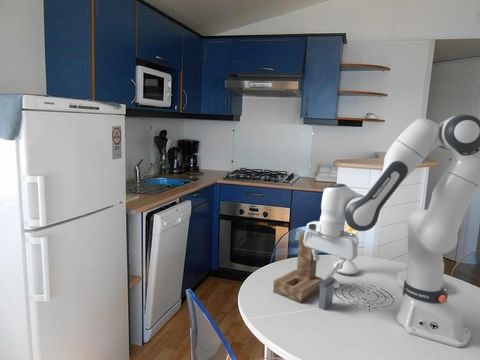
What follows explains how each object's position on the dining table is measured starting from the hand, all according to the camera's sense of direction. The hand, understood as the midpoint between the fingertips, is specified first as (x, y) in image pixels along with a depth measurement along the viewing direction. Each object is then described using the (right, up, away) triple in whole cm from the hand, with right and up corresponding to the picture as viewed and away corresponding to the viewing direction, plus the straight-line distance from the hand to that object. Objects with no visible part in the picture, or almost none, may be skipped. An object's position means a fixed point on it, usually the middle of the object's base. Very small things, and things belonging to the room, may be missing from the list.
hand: (327, 264), depth 135 cm
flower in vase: (+17, -12, +35) cm, 41 cm away
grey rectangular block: (0, -16, +2) cm, 16 cm away
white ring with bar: (+6, -14, +22) cm, 26 cm away
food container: (+46, -15, +24) cm, 54 cm away
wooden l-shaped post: (-9, -14, +14) cm, 21 cm away
